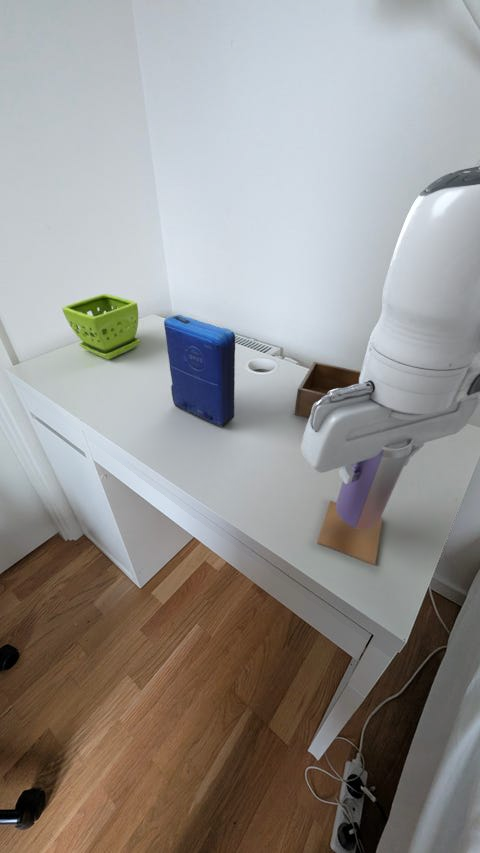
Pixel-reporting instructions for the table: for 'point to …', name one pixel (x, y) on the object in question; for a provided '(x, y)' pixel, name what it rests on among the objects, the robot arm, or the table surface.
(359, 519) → the beverage can
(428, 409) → the robot arm
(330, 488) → the table surface
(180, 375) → the blue plastic case
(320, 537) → the cork mat
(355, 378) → the wooden box
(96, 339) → the flower pot
